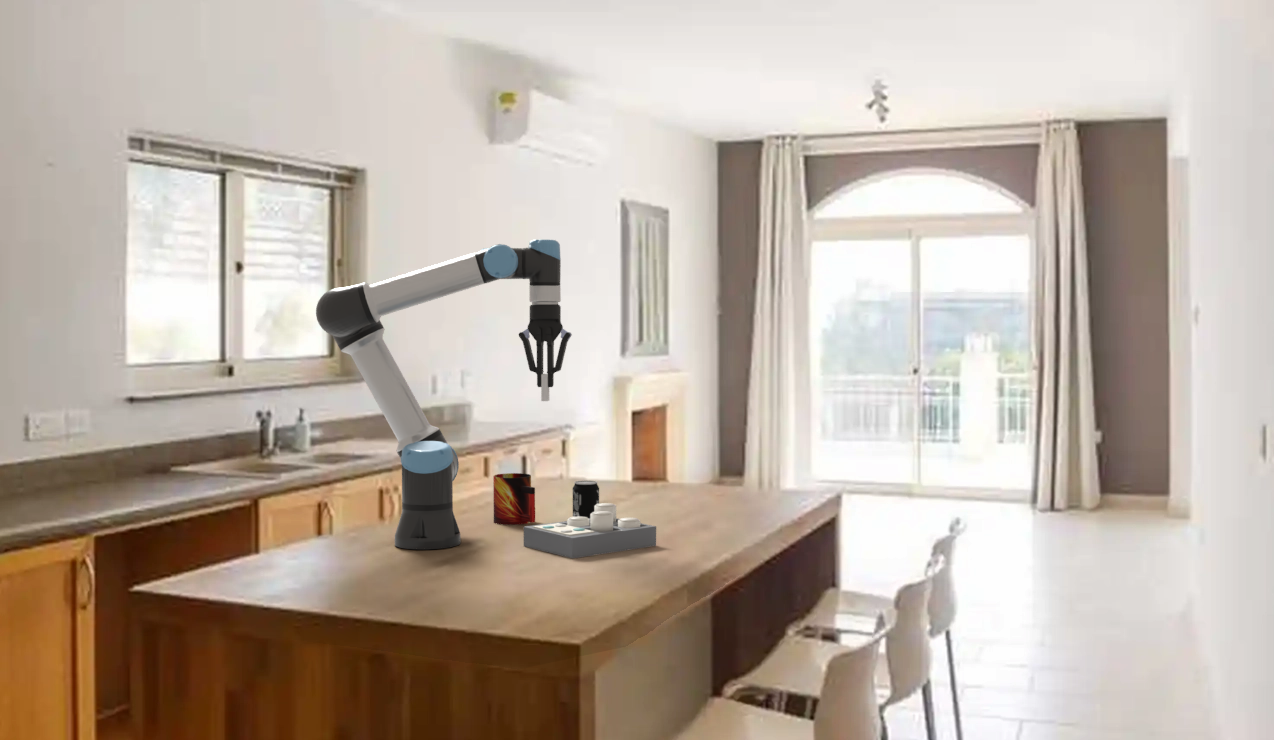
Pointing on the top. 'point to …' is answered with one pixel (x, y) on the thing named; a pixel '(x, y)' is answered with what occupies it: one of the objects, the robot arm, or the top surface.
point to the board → (587, 539)
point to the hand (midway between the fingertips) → (545, 400)
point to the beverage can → (585, 498)
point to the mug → (513, 499)
